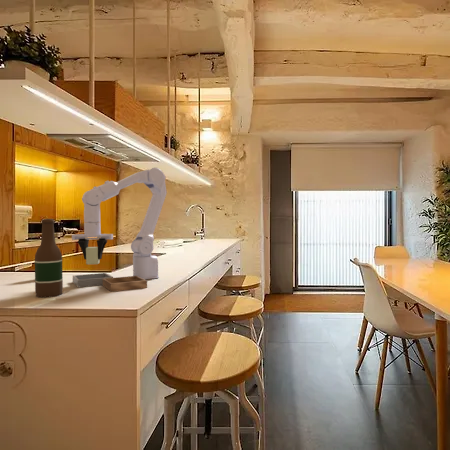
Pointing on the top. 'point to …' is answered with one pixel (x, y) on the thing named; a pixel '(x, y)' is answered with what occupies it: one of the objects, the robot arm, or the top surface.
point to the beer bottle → (48, 263)
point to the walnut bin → (124, 283)
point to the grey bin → (90, 279)
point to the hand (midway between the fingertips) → (93, 259)
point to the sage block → (92, 255)
